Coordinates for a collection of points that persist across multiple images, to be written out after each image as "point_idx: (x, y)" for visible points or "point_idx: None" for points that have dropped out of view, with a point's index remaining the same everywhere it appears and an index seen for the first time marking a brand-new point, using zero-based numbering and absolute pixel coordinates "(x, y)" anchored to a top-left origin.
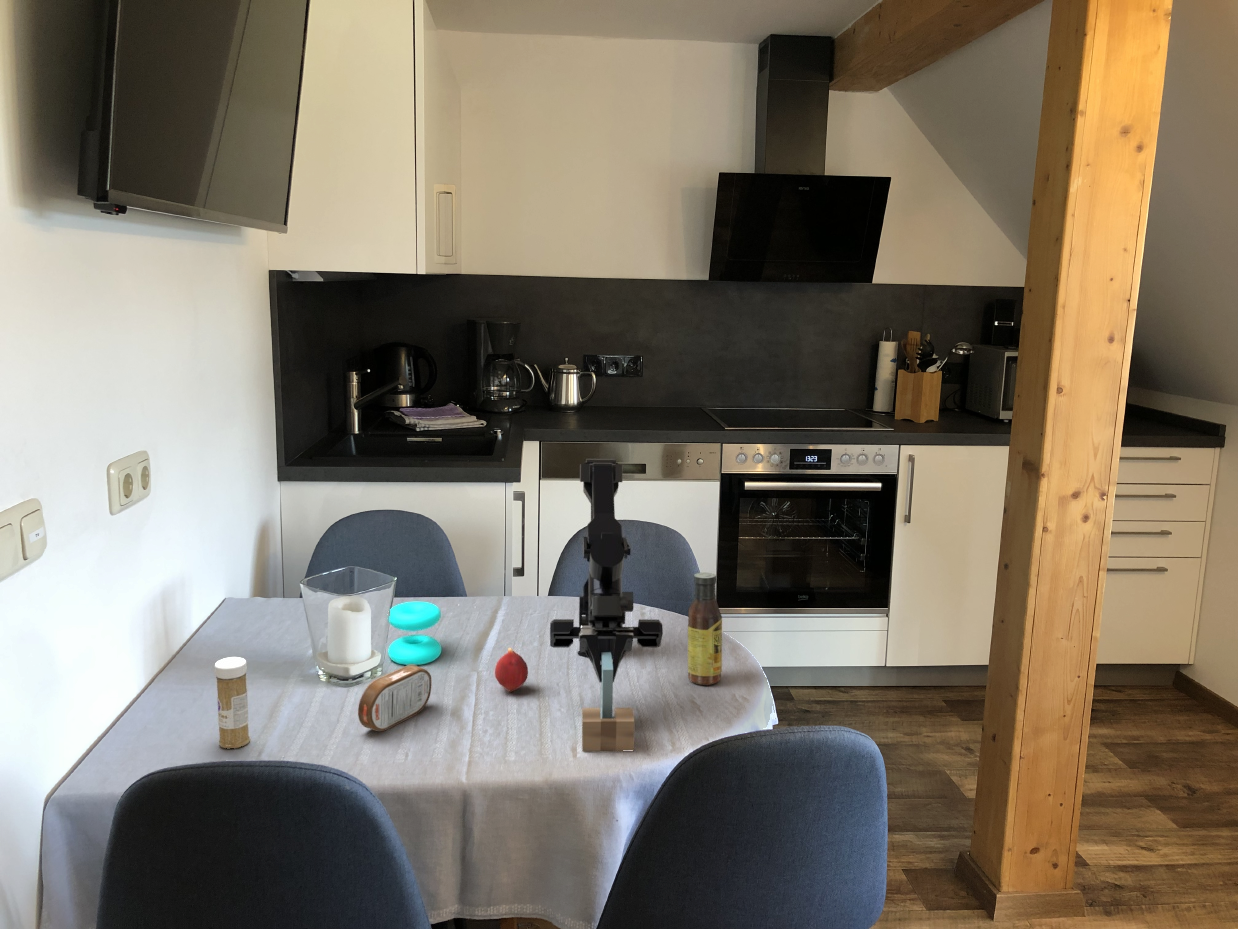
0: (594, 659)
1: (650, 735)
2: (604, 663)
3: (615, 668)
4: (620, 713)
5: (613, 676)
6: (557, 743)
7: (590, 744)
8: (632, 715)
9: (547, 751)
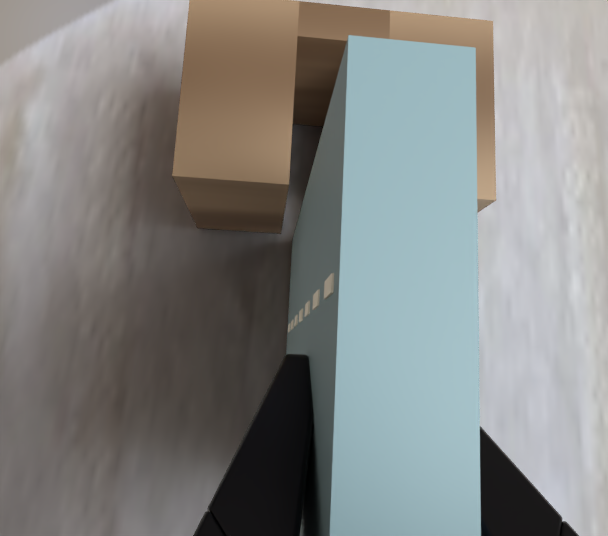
0: (559, 529)
1: (101, 238)
2: (451, 249)
3: (269, 423)
4: (262, 100)
5: (291, 371)
6: (536, 195)
7: None
8: (190, 63)
9: (573, 129)
